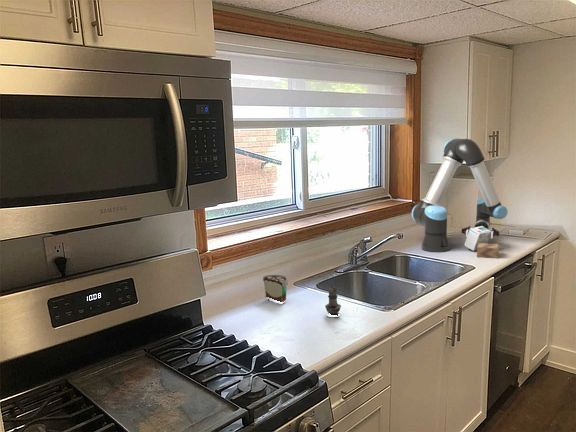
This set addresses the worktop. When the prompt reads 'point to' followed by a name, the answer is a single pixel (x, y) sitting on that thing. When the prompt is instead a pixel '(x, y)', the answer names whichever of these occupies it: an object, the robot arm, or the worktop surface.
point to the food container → (275, 287)
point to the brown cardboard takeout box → (487, 250)
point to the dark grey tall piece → (333, 302)
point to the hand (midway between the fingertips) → (479, 235)
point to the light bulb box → (477, 237)
